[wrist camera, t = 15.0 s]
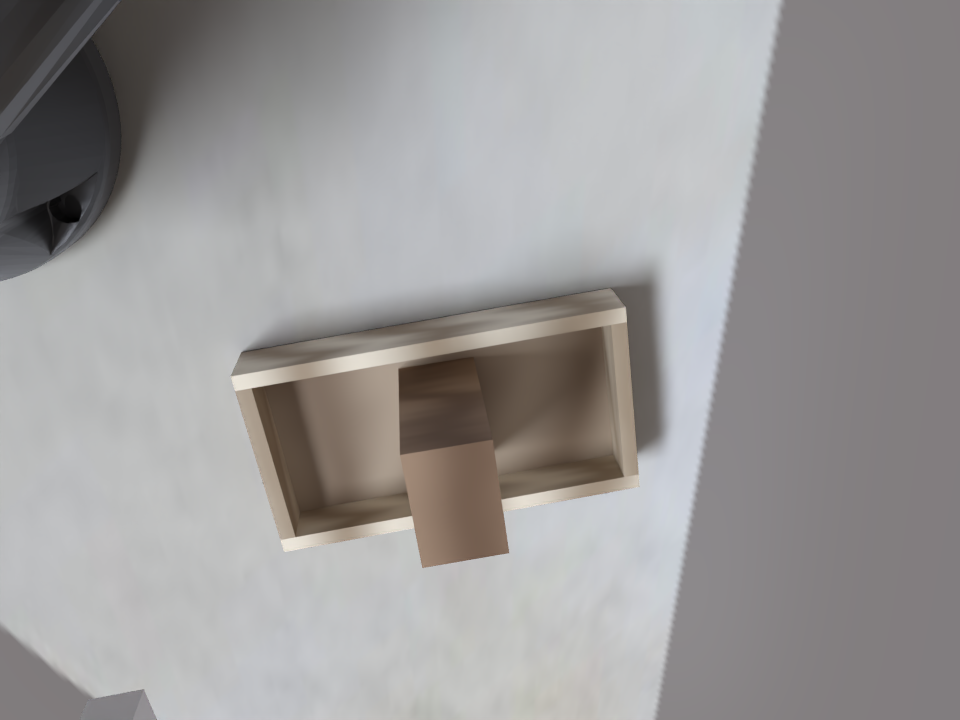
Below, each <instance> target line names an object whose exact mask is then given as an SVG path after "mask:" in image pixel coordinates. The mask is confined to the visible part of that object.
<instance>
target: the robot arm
mask: <svg viewBox="0 0 960 720" xmlns="http://www.w3.org/2000/svg"><path fill="white" fill-rule="evenodd" d="M120 1H121V0H0V281H3V280H7V279H10V278H13V277H16V276H19V275H22V274H25V273H27V272H30V271H32V270H34V269H36V268H38V267H40V266H42V265H43V264H45V263H47V262H49V261H50V260H52V259H53V258H54V257H56V256H57V255H59V254H60V253H61V252H63V251H64V250H66V249H67V248H68V247H70V246H71V245H72V244H74V243H75V242H76V241H77V240H78V239H79V238H80V237H82V236H83V235H84V234H85V233H86V232H87V230H88V229H89V228H90V227H91V226H92V225H93V223H94V222H95V221H96V219H97V218H98V216H99V215H100V213H101V212H102V210H103V208H104V207H105V205H106V203H107V201H108V199H109V196H110V194H111V192H112V189H113V186H114V183H115V180H116V176H117V172H118V167H119V161H120V152H121V125H120V117H119V110H118V105H117V100H116V96H115V92H114V89H113V85H112V82H111V79H110V77H109V74H108V71H107V69H106V66H105V64H104V62H103V60H102V57H101V56H100V54H99V52H98V50H97V48H96V46H95V44H94V42H93V41H92V39H91V36H92V35H93V34H94V33H95V31H96V30H97V29H98V28H99V27H100V25H101V24H102V23H103V22H104V21H105V19H106V18H107V17H108V16H109V15H110V13H111V12H112V11H113V10H114V8H115V7H116V6H117V5H118V4H119V2H120ZM80 720H157V719H156V716H155V714H154V712H153V710H152V707H151V705H150V703H149V700H148V698H147V696H146V693H145V691H144V689H143V690H138V691H133V692H127V693H122V694H117V695H111V696H106V697H101V698H95V699H90V700H88V702H87V704H86V706H85V708H84V711H83V713H82V715H81V717H80Z"/></svg>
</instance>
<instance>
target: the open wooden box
mask: <svg viewBox="0 0 960 720" xmlns="http://www.w3.org/2000/svg"><path fill="white" fill-rule="evenodd" d="M468 357H473V358H474V362H475V367H476V371H477V375H478V379H479V383H480V388H481V392H482V396H483V400H484V404H485V409H486V413H487V417H488V421H489V426H490V430H491V434H492V438H493V444H494V451H495V458H496V465H497V472H498V479H499V486H500V493H501V500H502V507H503V512H505V511H510V510H516V509H521V508H527V507H532V506H538V505H543V504H549V503H554V502H560V501H565V500H570V499H576V498H581V497H587V496H592V495H598V494H603V493H609V492H614V491H620V490H625V489H630V488H636V487H640V486H639V473H638V460H637V447H636V434H635V421H634V408H633V395H632V382H631V369H630V356H629V343H628V330H627V317H626V307H625V306H624V304H623V303H622V302H621V300H620V299H619V298H618V297H617V295H616V294H615V293H614V292H613V290H612V289H611V288H608V289H602V290H596V291H590V292H585V293H579V294H573V295H568V296H562V297H556V298H550V299H545V300H539V301H533V302H528V303H522V304H516V305H510V306H505V307H499V308H493V309H488V310H482V311H476V312H470V313H465V314H459V315H453V316H447V317H442V318H436V319H430V320H425V321H419V322H413V323H407V324H402V325H396V326H390V327H385V328H379V329H373V330H367V331H362V332H356V333H350V334H344V335H339V336H333V337H327V338H322V339H316V340H310V341H304V342H299V343H293V344H287V345H282V346H276V347H270V348H264V349H259V350H253V351H247V352H242V353H241V354H240V357H239V359H238V361H237V363H236V366H235V368H234V370H233V372H232V375H231V379H232V382H233V386H234V389H235V392H236V396H237V399H238V402H239V405H240V409H241V412H242V415H243V418H244V422H245V425H246V428H247V432H248V435H249V438H250V441H251V445H252V448H253V451H254V454H255V458H256V461H257V464H258V467H259V471H260V474H261V477H262V481H263V484H264V487H265V490H266V494H267V497H268V500H269V503H270V507H271V510H272V513H273V517H274V520H275V523H276V526H277V530H278V533H279V536H280V539H281V543H282V546H283V549H284V552H287V551H292V550H298V549H303V548H309V547H314V546H320V545H325V544H331V543H336V542H342V541H347V540H352V539H358V538H363V537H369V536H374V535H380V534H385V533H391V532H396V531H401V530H407V529H412V528H414V523H413V518H412V513H411V508H410V503H409V498H408V493H407V488H406V483H405V478H404V473H403V468H402V463H401V458H400V432H399V380H398V369H400V368H406V367H412V366H419V365H425V364H431V363H437V362H443V361H449V360H456V359H462V358H468Z"/></svg>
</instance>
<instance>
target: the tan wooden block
mask: <svg viewBox="0 0 960 720" xmlns="http://www.w3.org/2000/svg"><path fill="white" fill-rule="evenodd" d="M398 380H399V432H400V458H401V463H402V468H403V473H404V478H405V483H406V488H407V493H408V498H409V503H410V508H411V513H412V518H413V523H414V528H415V533H416V538H417V543H418V548H419V553H420V558H421V563H422V568H425V567H431V566H436V565H442V564H448V563H454V562H460V561H465V560H471V559H477V558H483V557H489V556H494V555H500V554H506V553H509V549H508V542H507V535H506V528H505V521H504V514H503V507H502V500H501V493H500V486H499V479H498V472H497V465H496V458H495V451H494V444H493V438H492V434H491V430H490V426H489V421H488V417H487V413H486V409H485V404H484V400H483V396H482V392H481V388H480V383H479V379H478V375H477V371H476V367H475V362H474V358H473V357H468V358H462V359H456V360H449V361H443V362H437V363H431V364H425V365H419V366H412V367H406V368H400V369H398Z"/></svg>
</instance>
